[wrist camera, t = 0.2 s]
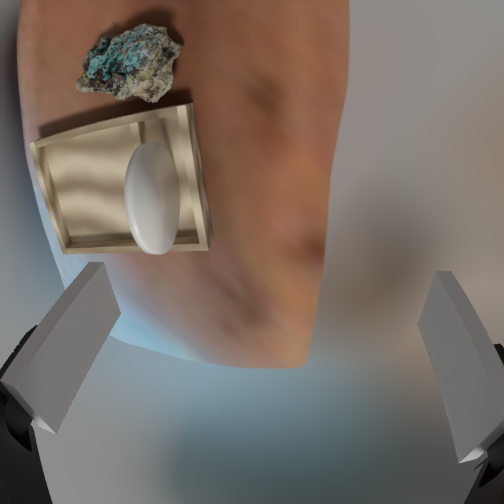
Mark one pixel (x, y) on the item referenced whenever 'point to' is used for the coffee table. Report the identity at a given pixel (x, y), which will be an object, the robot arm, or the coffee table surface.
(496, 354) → the robot arm
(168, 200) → the standing plate
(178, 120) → the wooden tray
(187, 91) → the coffee table surface
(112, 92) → the mineral specimen
